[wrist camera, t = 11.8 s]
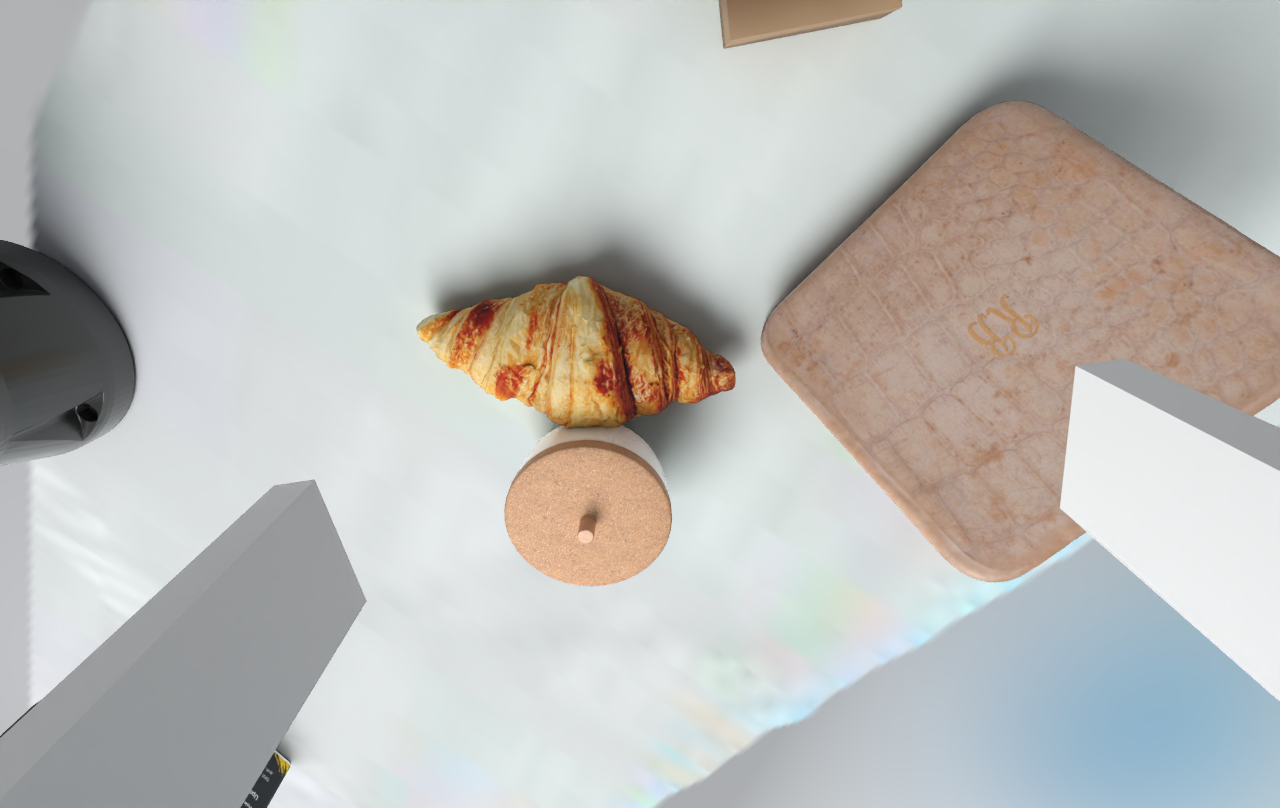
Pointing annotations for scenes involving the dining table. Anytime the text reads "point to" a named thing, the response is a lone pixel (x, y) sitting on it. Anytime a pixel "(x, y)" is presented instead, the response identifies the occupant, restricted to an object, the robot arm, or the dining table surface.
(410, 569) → the dining table surface
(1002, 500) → the case
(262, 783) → the medicine bottle
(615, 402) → the croissant
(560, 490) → the lidded jar
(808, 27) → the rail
